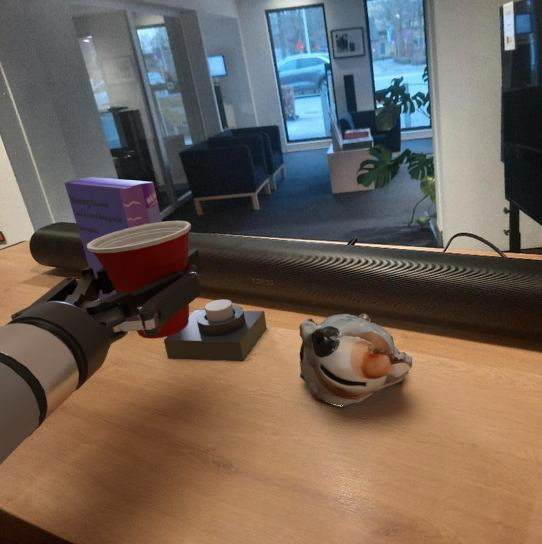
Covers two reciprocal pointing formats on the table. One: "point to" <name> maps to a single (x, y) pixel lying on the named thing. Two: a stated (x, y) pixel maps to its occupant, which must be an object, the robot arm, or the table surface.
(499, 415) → the table surface
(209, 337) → the push button base
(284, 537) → the table surface
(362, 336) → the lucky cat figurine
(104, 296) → the cereal box
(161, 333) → the plastic cup
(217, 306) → the white push button
